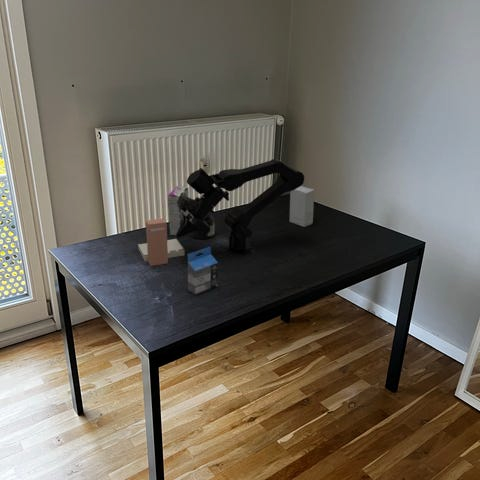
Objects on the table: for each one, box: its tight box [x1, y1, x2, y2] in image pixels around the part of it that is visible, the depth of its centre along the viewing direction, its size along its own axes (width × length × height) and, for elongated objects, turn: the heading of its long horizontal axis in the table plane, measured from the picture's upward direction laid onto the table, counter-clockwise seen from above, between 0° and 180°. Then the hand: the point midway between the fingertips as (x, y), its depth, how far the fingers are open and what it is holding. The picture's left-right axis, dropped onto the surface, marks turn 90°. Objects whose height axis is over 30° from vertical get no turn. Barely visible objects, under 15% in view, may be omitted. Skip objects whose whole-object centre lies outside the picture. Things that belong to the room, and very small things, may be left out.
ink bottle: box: [190, 212, 215, 240], centre depth 181 cm, size 10×9×12 cm
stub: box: [145, 218, 169, 267], centre depth 158 cm, size 6×4×15 cm, turn 113°
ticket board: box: [137, 238, 186, 263], centre depth 168 cm, size 14×10×2 cm
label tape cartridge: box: [187, 246, 219, 295], centre depth 144 cm, size 9×4×12 cm, turn 131°
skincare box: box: [288, 185, 315, 228], centre depth 194 cm, size 8×6×15 cm
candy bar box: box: [167, 185, 190, 237], centre depth 183 cm, size 11×5×16 cm, turn 168°
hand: (177, 236), depth 160 cm, fingers closed
